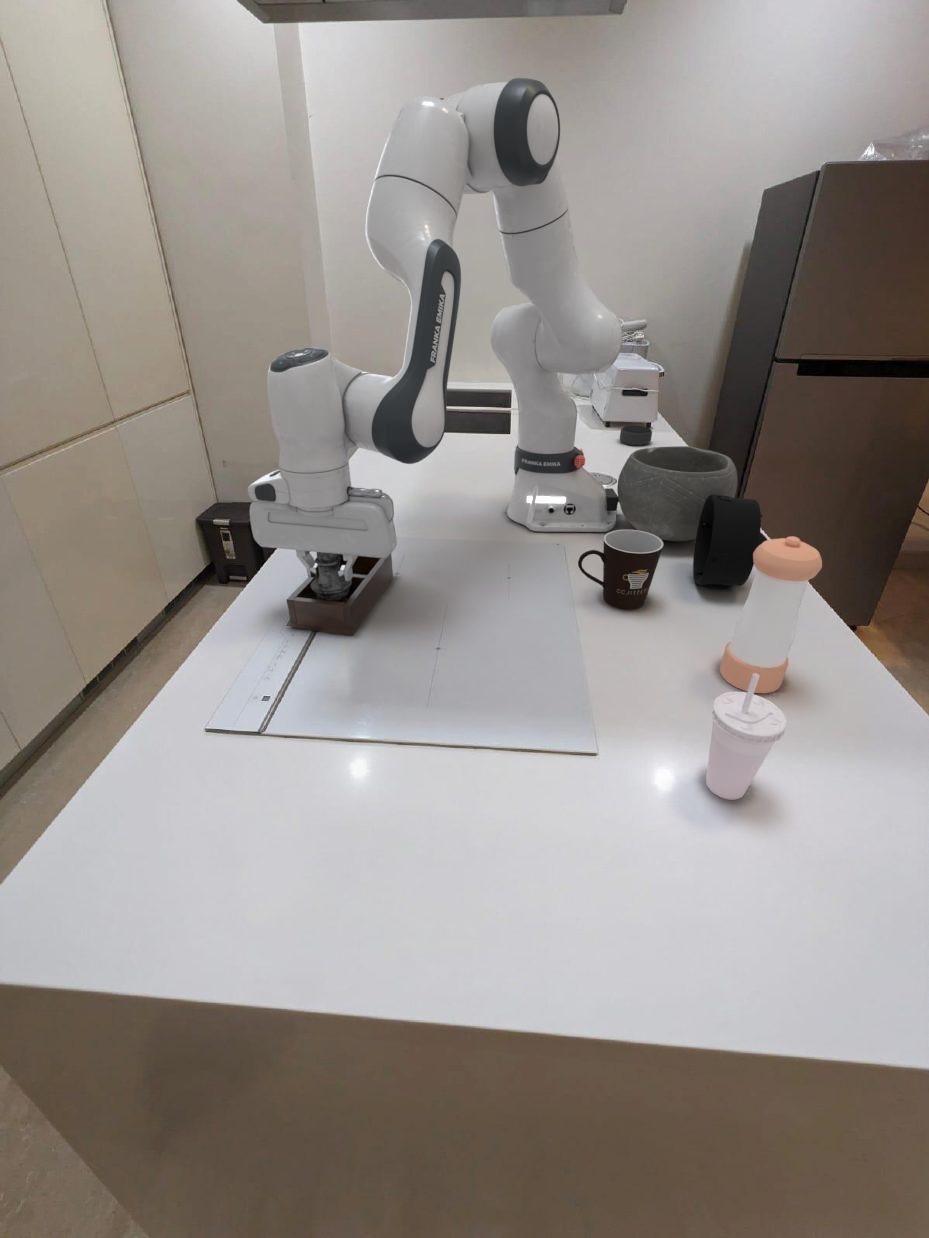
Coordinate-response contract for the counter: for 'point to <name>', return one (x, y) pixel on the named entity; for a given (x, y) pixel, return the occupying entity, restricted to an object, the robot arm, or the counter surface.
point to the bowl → (672, 488)
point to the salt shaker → (330, 579)
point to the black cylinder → (726, 541)
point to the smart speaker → (635, 435)
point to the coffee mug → (627, 567)
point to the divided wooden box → (341, 616)
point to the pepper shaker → (770, 614)
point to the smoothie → (741, 739)
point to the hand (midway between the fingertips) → (330, 577)
